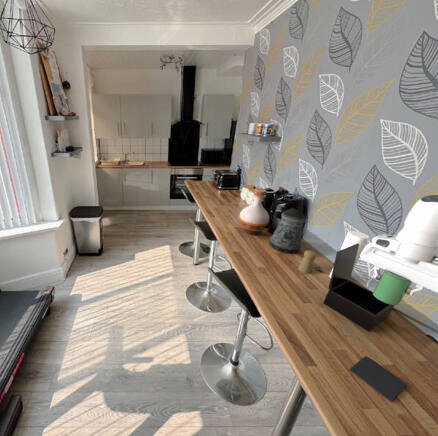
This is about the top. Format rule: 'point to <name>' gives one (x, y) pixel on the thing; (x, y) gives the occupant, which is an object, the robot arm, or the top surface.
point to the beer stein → (288, 231)
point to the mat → (378, 378)
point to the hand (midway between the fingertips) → (392, 286)
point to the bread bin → (357, 304)
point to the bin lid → (343, 265)
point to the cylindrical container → (353, 239)
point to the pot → (391, 288)
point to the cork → (307, 262)
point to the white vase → (255, 214)
